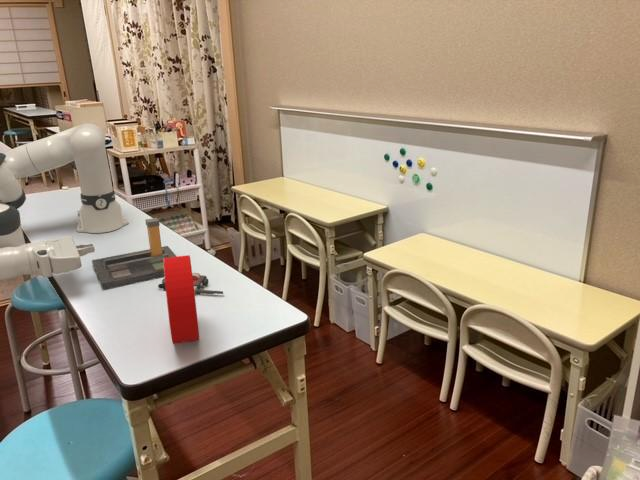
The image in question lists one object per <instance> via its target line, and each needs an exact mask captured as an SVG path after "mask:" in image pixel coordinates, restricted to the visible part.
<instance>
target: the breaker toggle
mask: <svg viewBox="0 0 640 480" xmlns="http://www.w3.org/2000/svg"><path fill="white" fill-rule="evenodd" d="M144 221H145V226H146V229H147V235H148V236H147V237H148V242H149V243H148V244H149V249H150V252H151V257H152V256H157V255H162V247H163V246H162V240H161V232H160V231H161V230H160V225H161V224H160V220H159V219H158V218H157V217H154V218H148V219H147V218H145V220H144Z"/></svg>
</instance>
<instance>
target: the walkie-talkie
mask: <svg viewBox="0 0 640 480" xmlns="http://www.w3.org/2000/svg"><path fill="white" fill-rule="evenodd" d="M192 276H193V284H194V293H195V296H196V295H197V294H199V295H200V294H204V295H214V294H215V295H218V294H220V295H224V291H223V290H210V289H204V288H205V287H208V285H209V279H208V277H207V275H201V274H200V273H198V272H192ZM157 287H158V288H159V289H162V290H163V291H166V287H165V277H163V279H162V280H161V283H159V284H158V285H157Z"/></svg>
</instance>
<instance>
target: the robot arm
mask: <svg viewBox="0 0 640 480" xmlns="http://www.w3.org/2000/svg"><path fill="white" fill-rule="evenodd" d="M72 162H74V164H75V168H76V172H77V177H78V183H79V187H80V188H79V189H80V200H81V204H82V205H81V207H80V208H79V210H77V212H76V213H77V217H79V218H78V219H79V220H78V223H77V226H76V232H77V233H88V234H101V233H108V232H113V231H116V230H119V229H120V228H122V227H124V226H125V225H128V224H129V220H128V219H127V218H124V215H123V210H122V205H121V203H119V201H116V193H115V190H114V189H113V184H112V175H111V171H110V169H111V168H110V165H109V160H108V155H107V149H106V134H105V133H104V131H103V129H102V128H101V127H99V126H98V125H96V124H94V123H82V124H78V125H77V126H73V127H71V128H68V129H65V130H62V131H60V132H57V133H55V134H51V135H50V136H47V137H43V138H39V139H37V140H34V141H31V142H28V143H25V144H21V145H19V146H16V147H14V148H12V149H10V150H8V151H6V152H4V153H3V152H0V281H5V280H10V279H15V278H16V279H17V278H18V277H20V276H23V275H25V276H27V275H29V276H30V275H31V276H32V275H40V276H42V277H43V278H51V277H53V275H54V274H55V275H57V274H58V275H59V274H63V273H64V274H65V273H68V272H71V271H75V270H78V269H81V268H82V266H83V265H82V260H81V257H83V256H87V255H88V254H92V253H95V251H96V249H95V246H94V245H93V243H87V244H85V243H77V244H76V243H75V241H74V239H73V236H71V235H66V236H64V235H63V236H59V237H54V238H50V239H47V240H40V241H39V240H38V241H35V242H34V241H33V242H30V243H29V242H28V243H26V241H25V236H24V232H23V227H22V224H21V223H22V222H21V214H20V211H19V210H18V209H19V208H21V207H22V206H23V205H24V204H25V202H26V200H27V196H26V193H25V191H24V189H23V188H22V186H21V185H20V183H19V181H18V179H23V178H27V177H31V176H36V175H39V174H42V173H46V172H48V171H52V170H55V169H58V168H61V167H64V166H65V165H68V164H70V163H72Z"/></svg>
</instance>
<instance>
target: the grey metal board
mask: <svg viewBox="0 0 640 480" xmlns="http://www.w3.org/2000/svg"><path fill="white" fill-rule="evenodd" d="M169 257H178V256H177V255H176V254H175V253H174V251H172V249H171V248H170V247H169V245H165V246H162V255H157V256H152V257H151V252H150V248H148V249H144V250H138V251H133V252H129V253H123V254H117V255H113V256H107V257H102V258H96V259H92V260H91V264H92V267H93V271H94V272H95V274H97V275H96V276H97V279H98V281H100V282H99V283H100V286H101V289H102V290H103V291H104V290H108V289H114V288H118V287H123V286H128V285H132V284H136V283H141V282H145V281H150V280H154V279H160V278H165V276H164V258H169Z"/></svg>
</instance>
